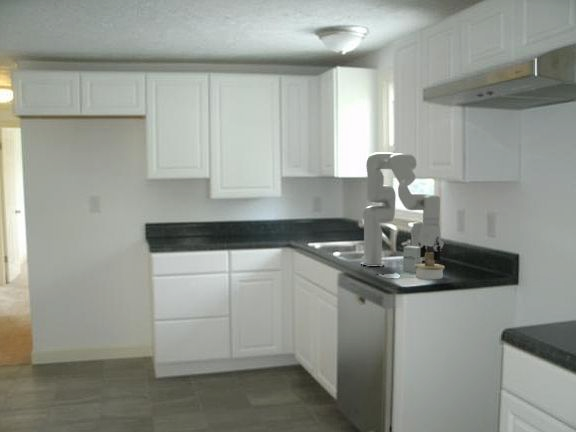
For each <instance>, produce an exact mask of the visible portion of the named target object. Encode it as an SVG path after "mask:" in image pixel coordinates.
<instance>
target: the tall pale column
mask: <svg viewBox="0 0 576 432" xmlns="http://www.w3.org/2000/svg"><path fill="white" fill-rule="evenodd" d="M422 224H423V221H422V222H421V221H420V222H414V223H413V224H412V228H410V235H411V246H417V247H420V246H419V242H418V238H420V231H421V226H422ZM426 249H427V251H426V253H428V246H426ZM422 261H425V257H422Z"/></svg>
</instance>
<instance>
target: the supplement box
mask: <svg viewBox="0 0 576 432" xmlns="http://www.w3.org/2000/svg"><path fill="white" fill-rule="evenodd" d="M402 253H403V254H402V255H403V256H402V259H403V260H402V271H403V272H409V273H416V270H417V268H416V267H415V264H423V262H422V257H420V247H417V246H412V245H406V246H404V247H403V252H402Z"/></svg>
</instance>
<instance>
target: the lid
mask: <svg viewBox="0 0 576 432" xmlns="http://www.w3.org/2000/svg"><path fill="white" fill-rule="evenodd" d="M435 262H436V260H434V252H427V253H425V262H424V263H422V264H415V267H416V268H419V269H427V270H440V269H443V270H444V269H445V265H443V264H439V263H435Z"/></svg>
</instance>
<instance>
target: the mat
mask: <svg viewBox="0 0 576 432" xmlns="http://www.w3.org/2000/svg"><path fill="white" fill-rule="evenodd" d="M399 273H400V274H399V275H400V277H399V278H400V279H409V278H411V279H413V278H414V276H411V275H408V274H404V273H401V272H399Z"/></svg>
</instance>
